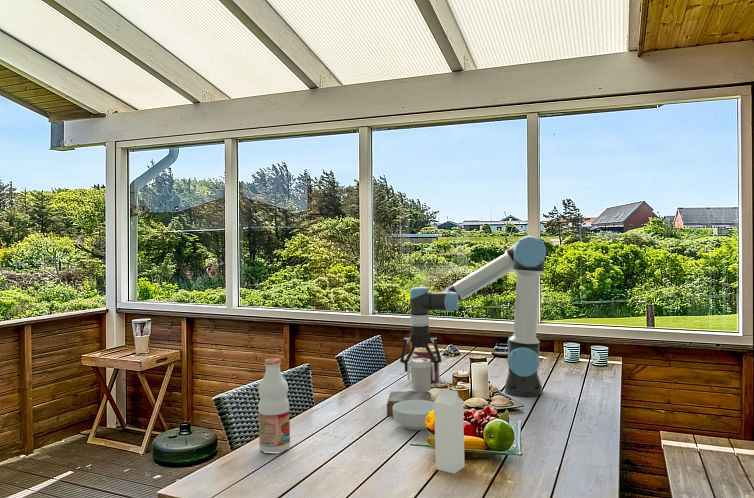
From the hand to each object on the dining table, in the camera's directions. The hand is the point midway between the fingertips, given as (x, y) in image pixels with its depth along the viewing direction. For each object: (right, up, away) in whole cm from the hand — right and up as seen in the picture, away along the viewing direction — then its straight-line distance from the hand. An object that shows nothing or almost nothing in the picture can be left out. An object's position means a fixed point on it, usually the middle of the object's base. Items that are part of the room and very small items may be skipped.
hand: (421, 379), depth 226 cm
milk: (+2, -8, -72) cm, 72 cm away
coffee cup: (0, -7, 0) cm, 7 cm away
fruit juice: (-50, -9, -54) cm, 74 cm away
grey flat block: (-6, -7, -17) cm, 20 cm away
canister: (+4, -7, +27) cm, 28 cm away
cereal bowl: (-4, -8, -36) cm, 37 cm away
